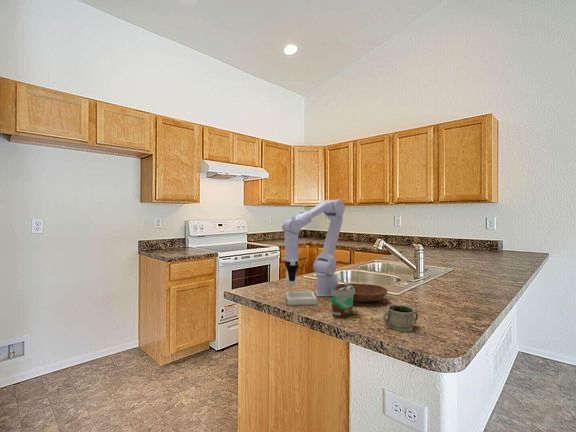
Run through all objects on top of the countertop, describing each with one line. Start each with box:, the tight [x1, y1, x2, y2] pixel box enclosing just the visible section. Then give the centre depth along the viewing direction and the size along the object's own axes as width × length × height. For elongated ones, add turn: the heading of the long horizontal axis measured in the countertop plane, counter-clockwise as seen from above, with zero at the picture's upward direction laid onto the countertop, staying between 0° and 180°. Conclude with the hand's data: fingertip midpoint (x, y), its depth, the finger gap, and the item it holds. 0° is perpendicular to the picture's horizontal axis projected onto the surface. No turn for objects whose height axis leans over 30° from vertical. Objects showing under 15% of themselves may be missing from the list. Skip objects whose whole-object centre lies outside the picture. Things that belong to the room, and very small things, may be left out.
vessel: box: [383, 303, 419, 332], centre depth 100 cm, size 12×9×6 cm
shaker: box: [285, 267, 297, 287], centre depth 129 cm, size 4×4×7 cm
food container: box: [330, 283, 355, 318], centre depth 112 cm, size 12×6×10 cm, turn 143°
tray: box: [285, 290, 318, 307], centre depth 129 cm, size 12×12×2 cm
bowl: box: [335, 283, 388, 303], centre depth 131 cm, size 20×22×5 cm
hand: (291, 279), depth 129 cm, fingers closed on shaker, 4 cm apart
